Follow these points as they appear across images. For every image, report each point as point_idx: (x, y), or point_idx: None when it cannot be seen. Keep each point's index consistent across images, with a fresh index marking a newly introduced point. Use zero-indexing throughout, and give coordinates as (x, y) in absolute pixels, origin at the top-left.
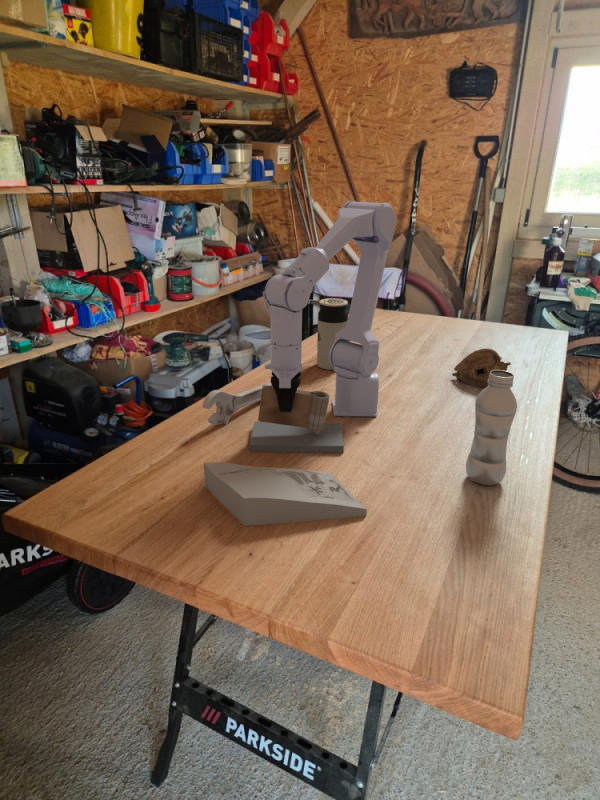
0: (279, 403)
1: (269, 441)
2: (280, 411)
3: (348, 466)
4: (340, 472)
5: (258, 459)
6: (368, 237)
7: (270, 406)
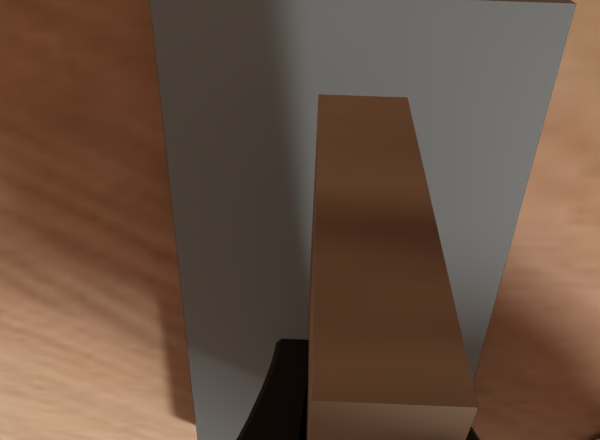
0: (254, 405)
1: (214, 137)
2: (281, 339)
3: (93, 432)
4: (36, 405)
5: (67, 47)
6: None
7: (311, 291)
